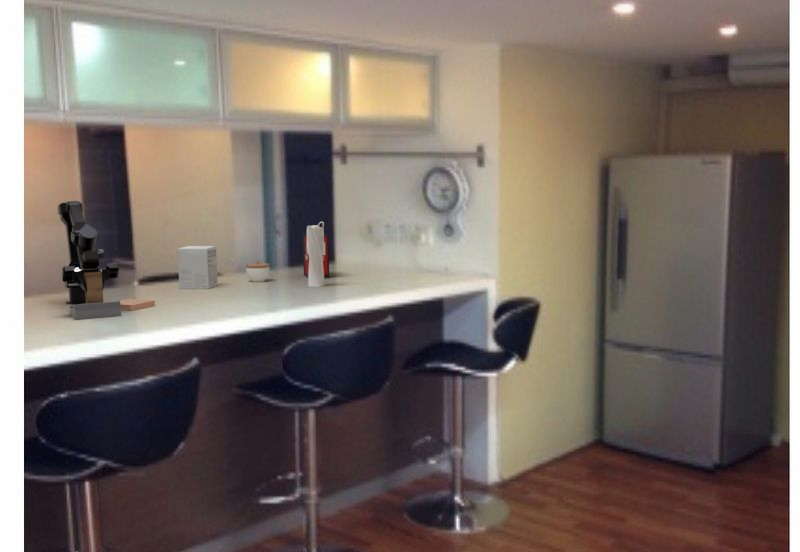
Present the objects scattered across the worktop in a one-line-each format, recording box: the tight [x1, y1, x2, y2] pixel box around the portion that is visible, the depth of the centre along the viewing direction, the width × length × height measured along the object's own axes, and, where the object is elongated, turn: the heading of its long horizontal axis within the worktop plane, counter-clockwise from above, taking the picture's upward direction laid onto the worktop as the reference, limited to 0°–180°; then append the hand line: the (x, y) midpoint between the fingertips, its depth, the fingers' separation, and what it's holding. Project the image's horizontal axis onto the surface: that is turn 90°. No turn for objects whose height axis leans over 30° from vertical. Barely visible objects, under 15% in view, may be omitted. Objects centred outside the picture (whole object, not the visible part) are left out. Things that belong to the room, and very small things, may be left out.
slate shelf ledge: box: [69, 300, 122, 321], centre depth 291 cm, size 12×15×5 cm
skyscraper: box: [306, 221, 325, 288], centre depth 359 cm, size 8×8×28 cm
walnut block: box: [84, 272, 104, 304], centre depth 290 cm, size 5×5×12 cm
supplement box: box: [177, 245, 218, 290], centre depth 361 cm, size 13×13×18 cm
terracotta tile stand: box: [119, 298, 156, 312], centre depth 308 cm, size 12×12×2 cm
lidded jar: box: [245, 260, 271, 283], centre depth 378 cm, size 11×11×9 cm
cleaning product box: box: [302, 233, 330, 280], centre depth 392 cm, size 16×9×20 cm, turn 17°
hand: (94, 290), depth 289 cm, fingers closed on walnut block, 5 cm apart
